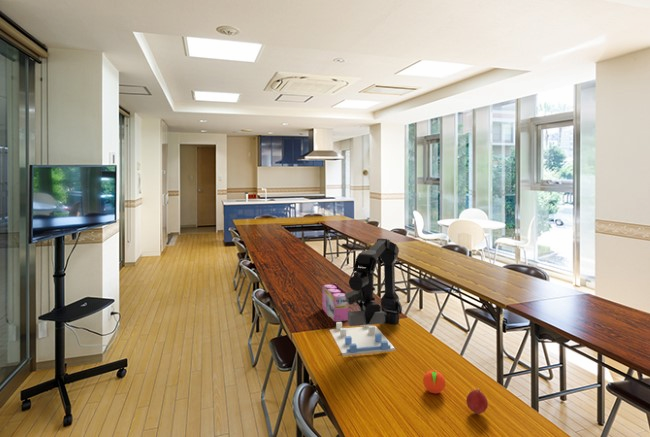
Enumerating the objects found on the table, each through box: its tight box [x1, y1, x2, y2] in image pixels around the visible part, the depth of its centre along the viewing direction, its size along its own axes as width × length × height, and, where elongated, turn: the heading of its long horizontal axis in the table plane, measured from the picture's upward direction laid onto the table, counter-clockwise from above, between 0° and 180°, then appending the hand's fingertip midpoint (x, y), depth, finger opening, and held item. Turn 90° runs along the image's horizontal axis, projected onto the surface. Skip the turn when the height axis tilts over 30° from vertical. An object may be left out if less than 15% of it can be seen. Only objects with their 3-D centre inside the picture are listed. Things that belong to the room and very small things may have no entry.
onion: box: [466, 388, 489, 416], centre depth 113 cm, size 6×6×8 cm
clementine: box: [422, 369, 446, 394], centre depth 124 cm, size 8×7×7 cm
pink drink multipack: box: [321, 282, 350, 322], centre depth 195 cm, size 24×8×14 cm, turn 16°
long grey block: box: [347, 310, 385, 327], centre depth 155 cm, size 14×4×4 cm, turn 101°
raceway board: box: [329, 321, 396, 357], centre depth 164 cm, size 22×25×4 cm
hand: (365, 321), depth 155 cm, fingers closed on long grey block, 4 cm apart
